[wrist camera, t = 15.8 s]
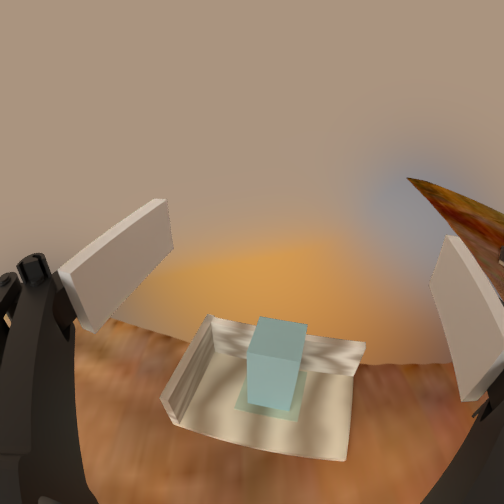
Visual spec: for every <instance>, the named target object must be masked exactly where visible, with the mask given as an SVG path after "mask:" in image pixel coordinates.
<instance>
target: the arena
mask: <svg viewBox="0 0 504 504" xmlns="http://www.w3.org/2000/svg"><path fill="white" fill-rule="evenodd" d="M255 328H256V326H255V325H250V324H245V323H240V322H235V321H230V320H225V319H221V318H216V317H215V316H213V315H209V314H207V316H206V317H205V319H204V321H203V323H202V324H201V326H200V328H199V329H198V331H197V333H196V335H195V336H194V338H193V340H192V341H191V343H190V345H189V347H188V348H187V350H186V352H185V354H184V355H183V357H182V359H181V361H180V362H179V364H178V366H177V368H176V369H175V371H174V373H173V375H172V376H171V378H170V380H169V382H168V383H167V385H166V387H165V389H164V390H163V392H162V394H161V396H160V397H159V398H160V400H161V402H162V404H163V406H164V408H165V410H166V412H167V414H168V415H169V417H170V419H171V421H172V423H173V424H174V425H177V426H179V427H182V428H185V429H188V430H191V431H194V432H197V433H200V434H203V435H206V436H210V437H213V438H216V439H220V440H223V441H227V442H231V443H234V444H238V445H242V446H246V447H251V448H255V449H260V450H264V451H269V452H275V453H280V454H286V455H292V456H299V457H306V458H314V459H322V460H333V461H345V460H346V457H347V449H348V440H349V431H350V420H351V408H352V394H353V376H354V374H355V372H356V370H357V367H358V365H359V363H360V361H361V358H362V356H363V354H364V351H365V349H366V342H359V341H351V340H342V339H335V338H328V337H321V336H314V335H308V334H306V336H305V342H304V347H303V352H302V358H301V363H300V367H299V372H298V376H297V381H296V385H295V390H294V394H293V398H292V402H291V406H290V410H289V411H285V410H279V409H274V408H269V407H264V406H259V405H255V404H250V403H248V398H247V350H248V347H249V344H250V342H251V339H252V336H253V334H254V331H255Z"/></svg>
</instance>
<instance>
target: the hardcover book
mask: <svg viewBox="0 0 504 504" xmlns="http://www.w3.org/2000/svg"><path fill="white" fill-rule="evenodd" d="M499 263H500V264H502V265H503V266H504V246H501V253H500V259H499Z"/></svg>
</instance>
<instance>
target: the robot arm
mask: <svg viewBox="0 0 504 504" xmlns="http://www.w3.org/2000/svg"><path fill="white" fill-rule="evenodd" d="M173 249H174V247H173V241H172V234H171V227H170V220H169V211H168V204H167V199H153V200H151V201H150V202H149V203H147V204H145V205H144V206H142V207H141V208H139V209H138V210H136V211H135V212H134V213H132V214H131V215H129V216H128V217H126V218H125V219H123V220H122V221H120V222H119V223H118V224H116V225H115V226H113V227H112V228H111V229H109V230H108V231H106V232H105V233H104V234H102V235H101V236H100V237H98V238H97V239H96V240H94V241H93V242H92V243H90V244H89V245H88V246H86V247H85V248H84V249H82V250H81V251H80V252H79V253H77V254H76V255H75V256H74V257H72V258H71V259H70V260H68V261H67V262H66V263H65V264H63V265H62V266H61V267H60V268H59V269H57V271H56V272H54V273H53V274H51V272H50V269H49V267H48V264H47V261H46V258H45V256H44V254H42V253H34V254H31V255H29V256H27V257H25V258H24V259H22V260H21V261H20V262H19V263H18V265H17V266H16V267H17V269H18V271H19V274H20V276H21V279H22V281H23V283H20V281H19V278H18V276H17V274H16V273H15V272H10V273H5V274H3V275H2V276H1V277H0V504H98V502H97V500H96V498H95V496H94V495H93V494H92V492H91V491H90V490H89V488H88V486H87V483H86V479H85V475H84V469H83V464H82V458H81V451H80V445H79V437H78V428H77V418H76V405H75V383H74V348H75V326H74V324H73V321H74V320H75V318H76V317H77V318H78V320H79V322H80V324H81V326H82V328H83V329H85V330H88V331H90V332H92V333H94V334H96V333H97V332H98V330H99V329H100V328H101V327H102V326H103V325H104V324H105V322H106V321H107V320H108V319H109V318H110V317H111V316H112V314H113V313H114V312H115V311H116V310H117V309H118V308H119V306H120V305H121V304H122V303H123V302H124V301H125V300H126V299H127V298H128V297H129V295H130V294H131V293H132V292H133V291H134V290H135V289H136V288H137V287H138V286H139V284H140V283H141V282H142V281H143V280H144V279H145V278H146V277H147V276H148V275H149V274H150V273H151V272H152V271H153V270H154V268H155V267H156V266H157V265H158V264H159V263H160V262H161V261H162V260H163V259H164V258H165V257H166V256H167V255H168V254H169V253H170V252H171V251H172V250H173ZM429 288H430V291H431V293H432V296H433V299H434V302H435V305H436V307H437V310H438V313H439V316H440V320H441V323H442V325H443V329H444V332H445V336H446V339H447V343H448V346H449V349H450V353H451V357H452V361H453V365H454V370H455V374H456V378H457V383H458V388H459V393H460V398H461V402H467V401H477V400H478V399H479V398H480V397H481V396H482V395H483V394H484V393H485V392H486V391H487V392H488V396H489V398H488V399H487V400H486V402H485V403H484V404H483V405H482V406H481V407H480V408H479V409H478V410H477V411H476V412H475V413H474V414H473V415H472V417H473V418H474V417H475V416H476V415H477V414H478V416H477V418H476V420H475V422H474V424H473V426H472V428H471V430H470V432H469V433H468V435H467V437H466V439H465V440H464V442H463V444H462V446H461V447H460V449H459V450H458V452H457V454H456V455H455V457H454V458H453V460H452V462H451V463H450V465H449V466H448V468H447V469H446V470H445V472H444V473H443V475H442V476H441V478H440V479H439V480H438V482H437V483H436V484H435V486H434V487H433V488H432V490H431V491H430V492H429V493H428V495H427V496H426V497H425V498H424V500H423V501H422V502H421V503H420V504H504V302H503V301H502V300H501V299H500V298H499V297H498V296H497V294H496V292H495V291H494V289H493V287H492V286H491V284H490V282H489V281H488V279H487V277H486V276H485V274H484V273H483V271H482V269H481V268H480V266H479V265H478V263H477V262H476V260H475V259H474V257H473V256H472V254H471V253H470V252H469V250H468V249H467V247H466V246H465V244H464V243H463V242H462V240H461V239H460V238H459V237H455V236H451V235H446V236H445V240H444V242H443V246H442V249H441V252H440V255H439V258H438V261H437V264H436V266H435V269H434V272H433V275H432V277H431V280H430V282H429ZM5 314H7V315H8V317H9V319H10V321H11V322H12V323H11V326H10V328H9V327H8V325H7V324H6V322H5V320H4V319H3V317H4V316H5Z"/></svg>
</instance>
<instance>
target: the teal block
mask: <svg viewBox="0 0 504 504" xmlns="http://www.w3.org/2000/svg"><path fill="white" fill-rule="evenodd" d="M306 331H307V324H302V323H296V322H289V321H283V320H277V319H271V318H266V317H260V318H259V320H258V323H257V326H256V328H255V331H254V334H253V336H252V339H251V342H250V344H249V347H248V350H247V398H248V403H250V404H255V405H259V406H264V407H269V408H274V409H279V410H285V411H289V410H290V406H291V402H292V398H293V394H294V390H295V385H296V381H297V376H298V372H299V367H300V363H301V358H302V352H303V347H304V342H305V336H306Z"/></svg>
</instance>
